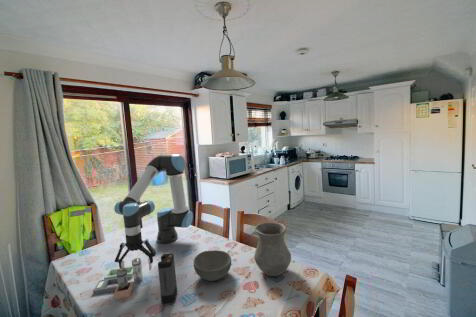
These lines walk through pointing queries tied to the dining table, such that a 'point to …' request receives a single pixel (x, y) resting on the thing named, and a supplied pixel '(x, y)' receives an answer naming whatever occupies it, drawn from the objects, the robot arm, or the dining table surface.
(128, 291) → the orange open box
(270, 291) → the dining table surface
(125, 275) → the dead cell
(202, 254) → the bowl
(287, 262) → the vase
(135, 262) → the cell
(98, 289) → the cradle
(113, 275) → the trough
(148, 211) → the robot arm
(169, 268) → the electronic device
